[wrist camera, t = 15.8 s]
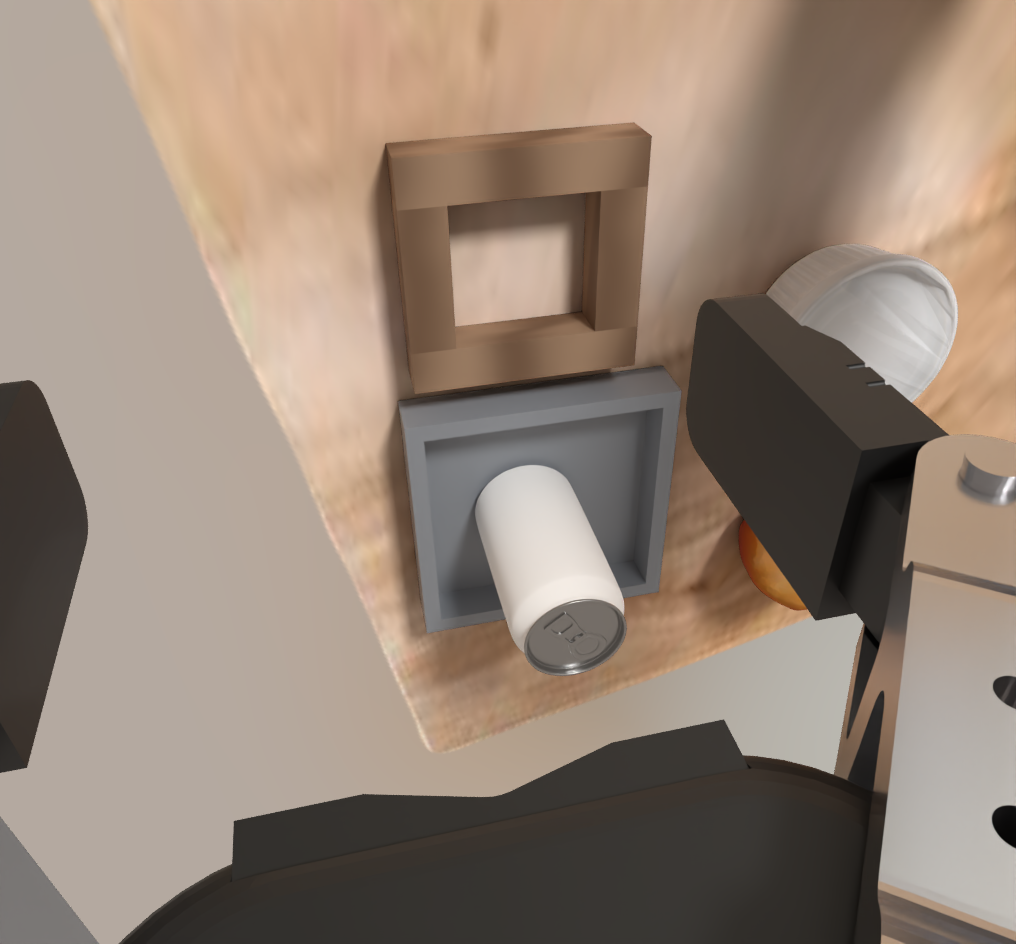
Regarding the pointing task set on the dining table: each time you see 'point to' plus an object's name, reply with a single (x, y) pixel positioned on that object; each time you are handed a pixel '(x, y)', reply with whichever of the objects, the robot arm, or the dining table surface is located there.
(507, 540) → the can
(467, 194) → the square wooden frame
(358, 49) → the dining table surface
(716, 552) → the dining table surface
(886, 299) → the ramekin
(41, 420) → the robot arm
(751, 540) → the fruit
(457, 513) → the tray
